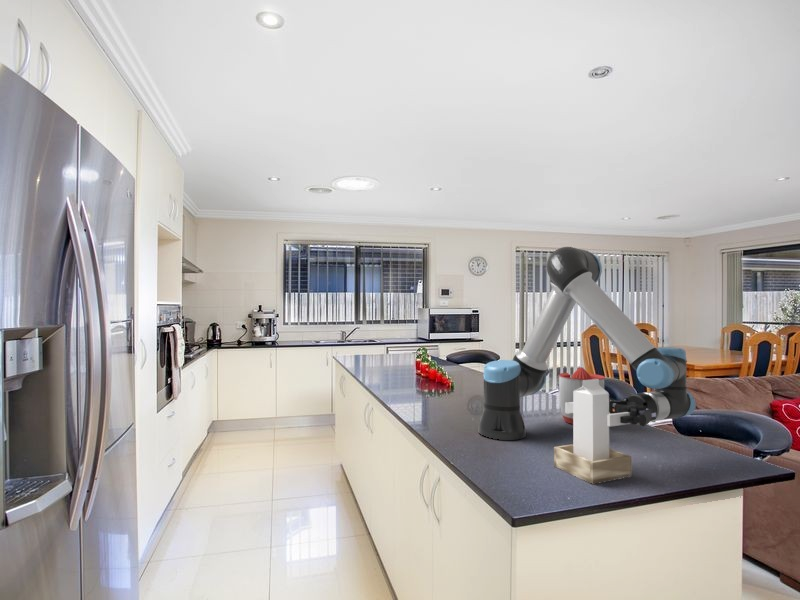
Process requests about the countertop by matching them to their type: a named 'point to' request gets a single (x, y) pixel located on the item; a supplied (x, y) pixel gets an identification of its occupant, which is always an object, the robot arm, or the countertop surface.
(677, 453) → the countertop surface
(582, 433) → the milk
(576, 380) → the citrus juicer
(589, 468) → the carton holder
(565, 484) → the countertop surface
